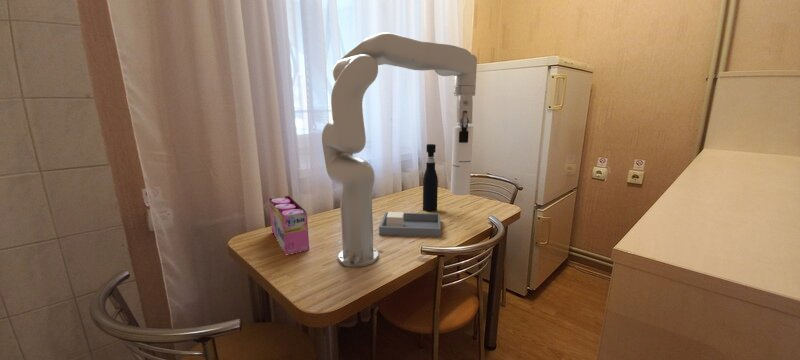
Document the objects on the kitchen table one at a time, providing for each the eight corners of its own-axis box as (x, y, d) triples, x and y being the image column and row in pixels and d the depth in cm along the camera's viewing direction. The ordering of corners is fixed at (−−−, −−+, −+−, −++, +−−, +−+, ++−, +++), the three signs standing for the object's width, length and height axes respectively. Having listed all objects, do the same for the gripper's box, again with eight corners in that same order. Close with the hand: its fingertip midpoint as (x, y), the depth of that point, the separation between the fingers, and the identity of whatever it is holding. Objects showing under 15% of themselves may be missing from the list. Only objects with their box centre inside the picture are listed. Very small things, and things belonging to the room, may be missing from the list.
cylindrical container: (469, 195, 119) (473, 127, 113) (450, 194, 120) (452, 127, 114) (469, 190, 125) (472, 126, 120) (451, 189, 127) (453, 126, 121)
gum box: (270, 231, 121) (266, 197, 118) (291, 227, 125) (288, 194, 122) (285, 256, 102) (282, 216, 99) (310, 250, 106) (307, 211, 103)
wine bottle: (421, 213, 141) (422, 145, 134) (423, 208, 147) (424, 143, 140) (436, 214, 139) (437, 145, 132) (437, 209, 145) (439, 143, 138)
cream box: (402, 230, 119) (402, 217, 118) (386, 229, 120) (386, 217, 119) (403, 224, 125) (403, 212, 124) (388, 223, 126) (388, 211, 125)
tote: (440, 239, 113) (440, 229, 112) (379, 237, 116) (379, 227, 115) (439, 223, 129) (439, 213, 128) (385, 221, 131) (385, 212, 130)
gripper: (478, 90, 105) (475, 144, 109) (472, 92, 122) (470, 139, 126) (455, 90, 106) (453, 144, 110) (452, 92, 123) (450, 138, 127)
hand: (462, 141), depth 118 cm, fingers closed on cylindrical container, 7 cm apart
